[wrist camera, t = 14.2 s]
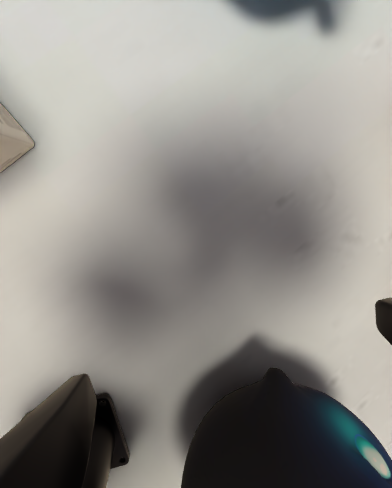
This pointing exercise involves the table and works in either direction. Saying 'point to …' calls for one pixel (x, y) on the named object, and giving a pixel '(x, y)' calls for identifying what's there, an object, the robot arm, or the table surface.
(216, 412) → the figurine
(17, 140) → the ink box
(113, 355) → the table surface
